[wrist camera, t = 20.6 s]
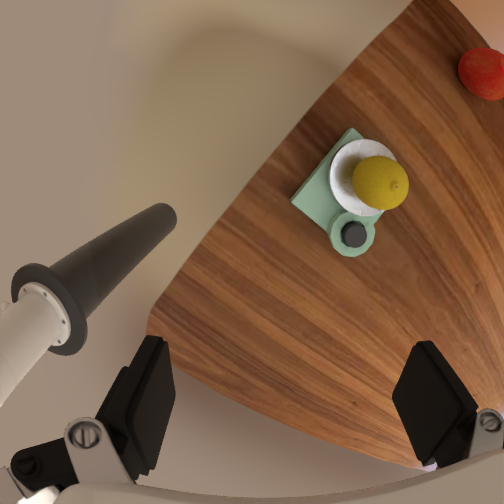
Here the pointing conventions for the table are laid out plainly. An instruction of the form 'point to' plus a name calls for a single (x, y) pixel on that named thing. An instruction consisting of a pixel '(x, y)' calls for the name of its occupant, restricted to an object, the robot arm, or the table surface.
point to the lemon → (380, 182)
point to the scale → (332, 204)
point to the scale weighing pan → (344, 169)
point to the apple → (483, 73)
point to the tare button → (354, 234)
